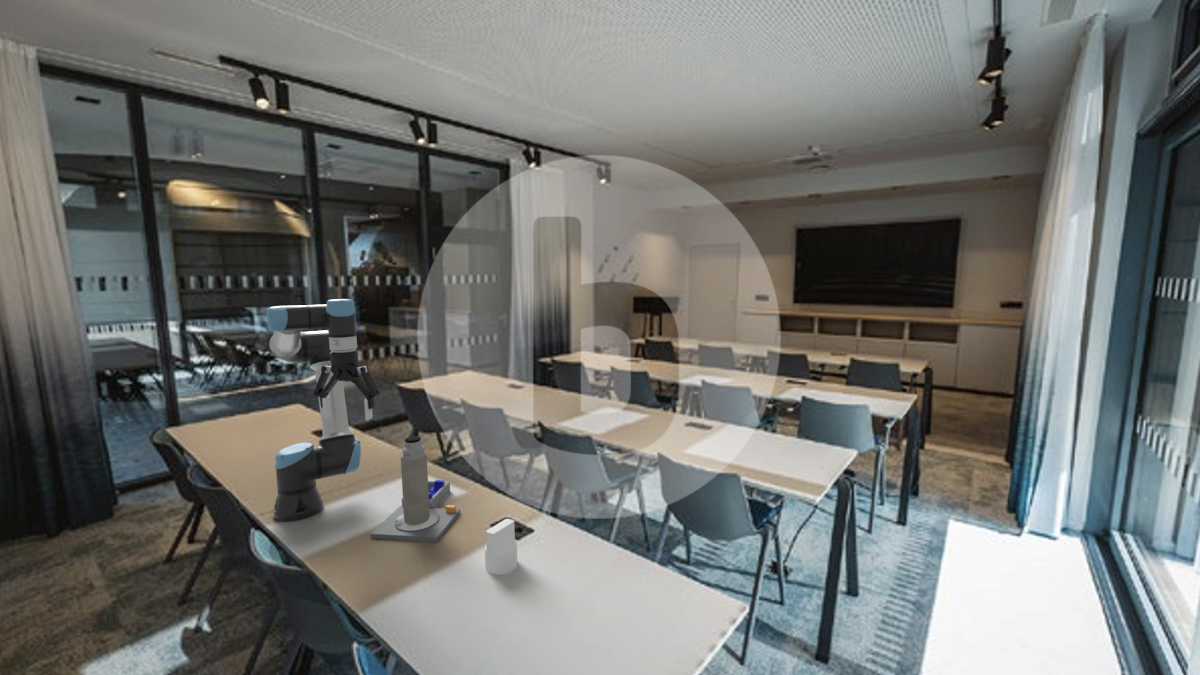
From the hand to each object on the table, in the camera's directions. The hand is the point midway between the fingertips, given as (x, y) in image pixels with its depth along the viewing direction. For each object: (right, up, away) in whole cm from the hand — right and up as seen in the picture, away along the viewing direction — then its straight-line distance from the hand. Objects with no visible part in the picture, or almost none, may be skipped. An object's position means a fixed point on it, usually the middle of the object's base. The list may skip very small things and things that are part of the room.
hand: (348, 418), depth 158 cm
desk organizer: (+14, -35, +30) cm, 48 cm away
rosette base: (+17, -37, +12) cm, 43 cm away
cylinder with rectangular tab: (+49, -41, -11) cm, 65 cm away
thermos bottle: (+17, -36, +12) cm, 41 cm away
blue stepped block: (+16, -36, +29) cm, 49 cm away
